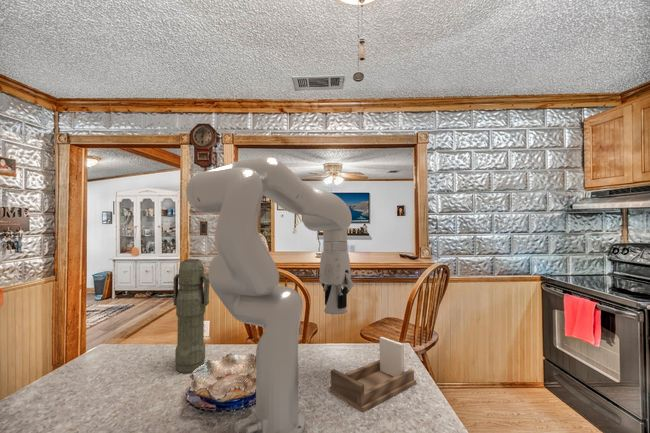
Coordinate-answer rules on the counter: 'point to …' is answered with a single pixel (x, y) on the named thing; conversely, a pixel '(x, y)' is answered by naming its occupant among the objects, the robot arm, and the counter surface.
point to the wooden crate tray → (369, 385)
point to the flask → (334, 302)
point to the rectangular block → (391, 357)
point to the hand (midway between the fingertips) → (335, 305)
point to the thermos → (190, 314)
